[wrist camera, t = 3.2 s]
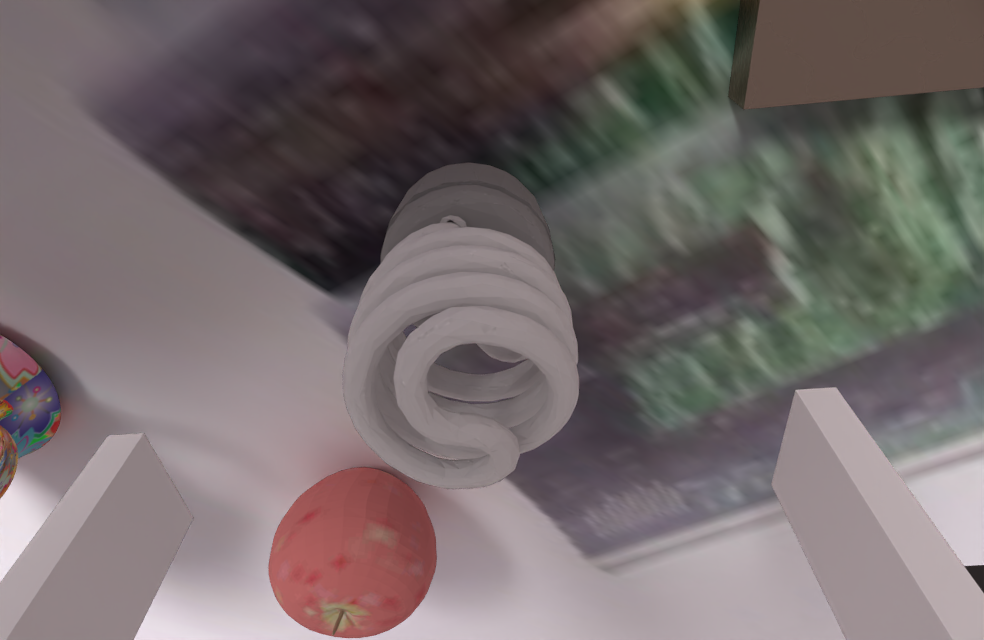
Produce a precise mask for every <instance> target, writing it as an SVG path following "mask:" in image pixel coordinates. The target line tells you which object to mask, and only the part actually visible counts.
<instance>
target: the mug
mask: <svg viewBox="0 0 984 640" xmlns="http://www.w3.org/2000/svg"><path fill="white" fill-rule="evenodd" d="M60 419H61V407H60V402H59V398H58V395H57V392H56V389H55V387H54V386H53V384H52V382H51V380H50V379H49V377H48V376H47V374H46V373H45V372H44V371H43V369H42V368H41V367H40V366H39V365H38V364H37V363H36V362H35V361H34V360H33V359H32V358H31V357H30V356H29V355H28V354H27V353H26V352H24V351H23V350H22V349H21V348H19V347H18V346H17V345H15V344H14V343H13V342H11V341H10V340H8V339H6V338H5V337H3V336H2V335H0V498H1V497H2V496H3V495H4V493H5V492H6V491H7V489H8V487H9V486H10V484H11V482H12V480H13V478H14V475H15V472H16V469H17V464H18V458H20V457H22V456H24V455H26V454H29V453H31V452H33V451H35V450H37V449H39V448H41V447H42V446H43V445H45V444H46V443H47V442H48V441H50V439H51V438H52V437H53V436H54V434H55V433H56V431H57V428H58V426H59V423H60Z"/></svg>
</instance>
